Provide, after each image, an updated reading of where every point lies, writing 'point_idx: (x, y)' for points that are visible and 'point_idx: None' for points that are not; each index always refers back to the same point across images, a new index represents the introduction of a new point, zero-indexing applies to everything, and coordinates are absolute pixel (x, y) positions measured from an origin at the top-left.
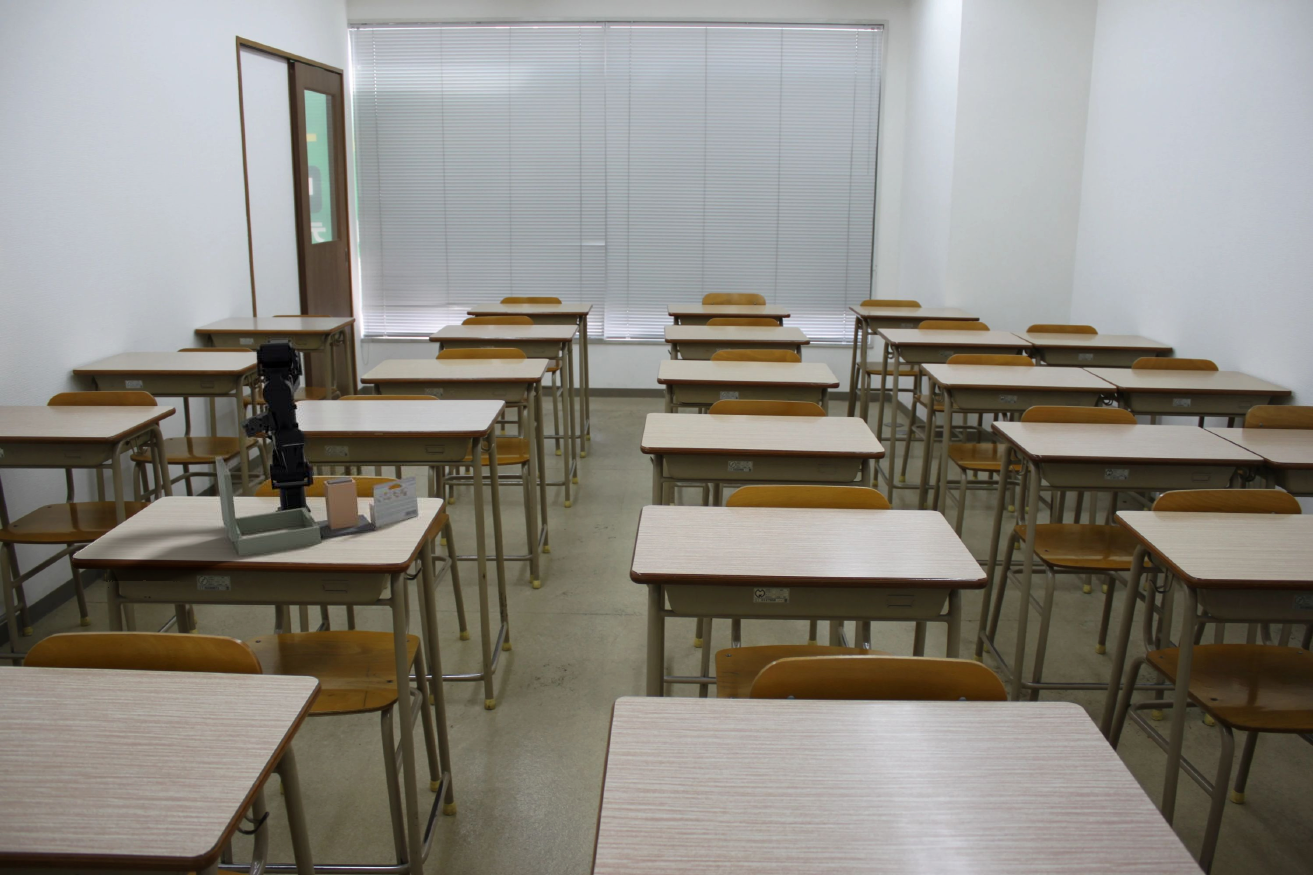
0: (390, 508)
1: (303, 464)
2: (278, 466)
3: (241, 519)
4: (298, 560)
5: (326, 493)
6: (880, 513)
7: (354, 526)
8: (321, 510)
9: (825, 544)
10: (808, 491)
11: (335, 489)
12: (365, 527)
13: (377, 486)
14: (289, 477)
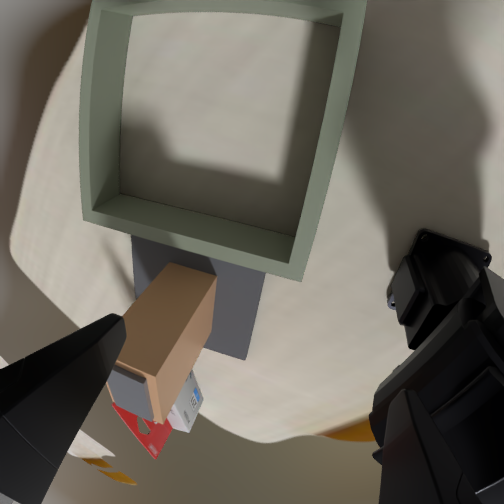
0: None
1: (377, 441)
2: (466, 374)
3: (339, 39)
4: (44, 126)
5: (144, 336)
6: (74, 453)
7: None
8: (380, 327)
9: None
10: (117, 477)
11: None
12: None
13: (117, 408)
14: (415, 354)
